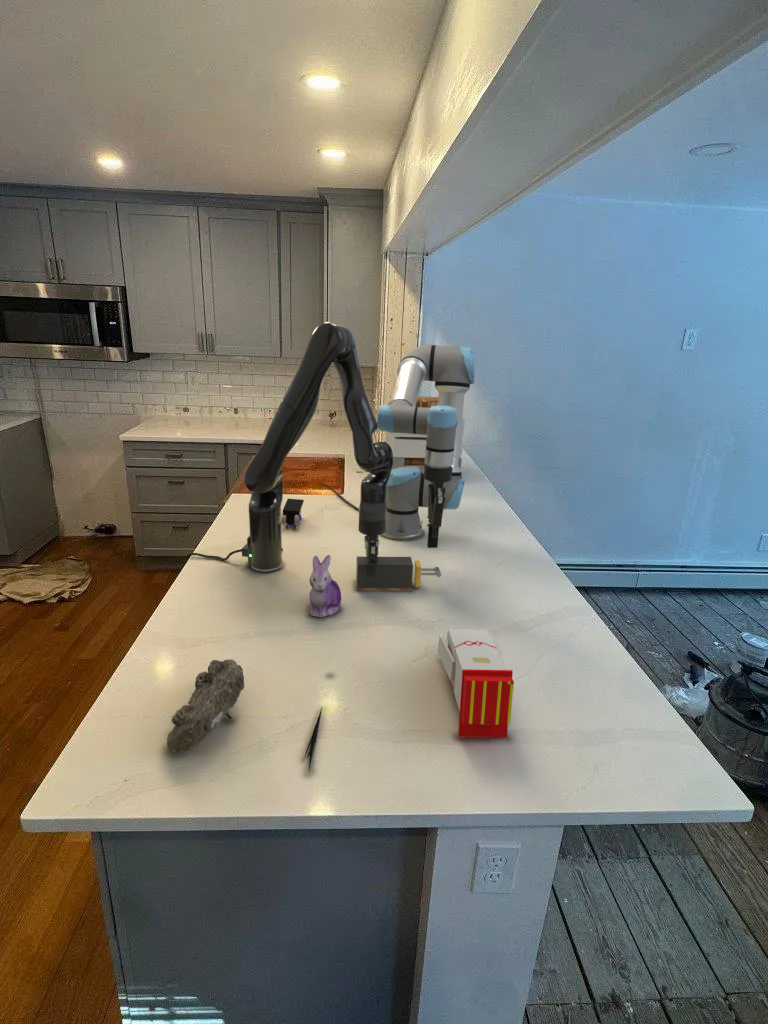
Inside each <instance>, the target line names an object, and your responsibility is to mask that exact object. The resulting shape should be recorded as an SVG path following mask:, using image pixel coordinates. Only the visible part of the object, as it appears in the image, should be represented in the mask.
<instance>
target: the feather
mask: <svg viewBox="0 0 768 1024" xmlns="http://www.w3.org/2000/svg"><path fill="white" fill-rule="evenodd" d="M329 675H330V676H331V675H332V674H331V673H330V674H329ZM322 710H323V707H321V708H320V710H319V713H318V716H317V719H316V723H315V725H314V728H313V731H312V733H311V737H310V739H309V742H308V745H307V748H306V751H305V754H304V757H303V760H302V763H301V767H302V765H303V763H304V761H305V758H308V759H309V760H308V762H307V763H308V764H307V766H308V771H310V770H311V766H312V765H311V764H312V760H313V757H315V756H314V755H315V751H316V749H315V746H317V739H318V733H319V729H320V722H321V717H322V712H323V711H322ZM313 754H314V755H313ZM306 755H307V757H306Z"/></svg>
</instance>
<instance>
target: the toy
mask: <svg viewBox="0 0 768 1024" xmlns="http://www.w3.org/2000/svg"><path fill="white" fill-rule="evenodd" d="M446 640H447V643H446V641H445V639H444V636H443V635H442V634H439V637H438V646H437V656H438V657H439V659H440V661H441V663H442V666H443V668H444V670H445V672H446V674H447V677H448V679H449V681H450V684H451V687H452V690H453V693H454V697H455V701H456V705H457V708H458V711H459V714H458V715H459V716H458V730H457V731H458V732H457V737H458V738H508V731H509V726H510V725H511V717H512V707H513V697H514V696H513V695H514V684H515V680H514V679H513V673H514V671H513V670H512V669H508V667H507V665H506V662H505V661H504V659H503V658H502V655H501V653H500V651H499V649H498V647H497V643H496V639H495V637H494V635H493V634H491V632H490V631H489V629H467V628H466V629H465V628H463V629H461V628H460V629H459V628H448V630H447V639H446Z"/></svg>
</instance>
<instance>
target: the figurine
mask: <svg viewBox="0 0 768 1024" xmlns="http://www.w3.org/2000/svg"><path fill="white" fill-rule="evenodd" d="M331 557H332V556H331V554H327V555H326V556H325V557H324V558H323V560H322V561H320V559H319V557H318V556H317V555H314V556H313V557H312V572H311V574H310V577H309V585H310V586H311V589H310V591H309V598H308V599H309V604H310V605H309V612H310V613H309V614H310V616H313V617H316V618H325V617H326V616H332V615H334V614H336V613H337V612H339V610H340V609H341V602H342V593H341V588H340V586H339V584H338V583H337V581H335V580H334V579H332V576H331V573H330V572H329V567H330V565H331Z"/></svg>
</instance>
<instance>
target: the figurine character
mask: <svg viewBox="0 0 768 1024" xmlns="http://www.w3.org/2000/svg"><path fill="white" fill-rule="evenodd" d="M304 501H305V499H300V498H299V499H298V498H286V502H285V503H284V506H283V508H282V514H281V526H285V530H288V529H289V526H290V527H293V530H296V529H297V526H299V525H300V522H301V521H302V520H303V517H302V514H303V513H302V508H303V504H304Z"/></svg>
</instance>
